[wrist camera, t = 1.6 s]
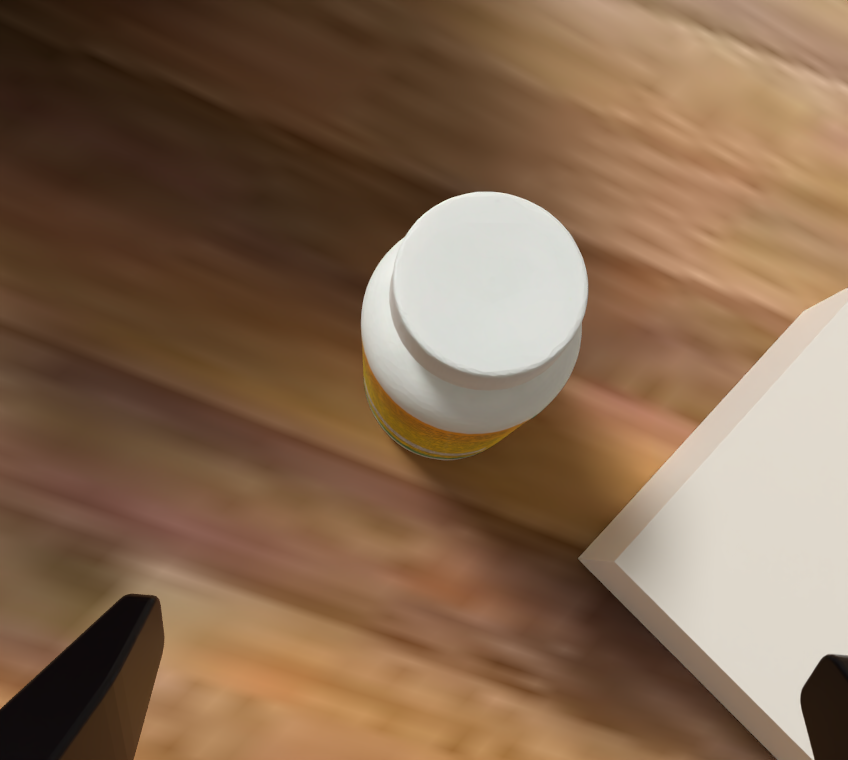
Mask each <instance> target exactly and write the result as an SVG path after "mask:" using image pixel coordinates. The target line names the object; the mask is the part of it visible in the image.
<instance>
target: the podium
mask: <svg viewBox="0 0 848 760" xmlns="http://www.w3.org/2000/svg"><path fill="white" fill-rule="evenodd" d="M578 560H579V561H580V562H581V563H582V564H583V565H584V566H585V567H586V568H587V569H588V570H589V571H590V572H591V573H592V574H593V575H594V576H595V577H596V578H597V579H598V580H599V581H600V582H601V583H602V584H603V585H604V586H605V587H606V588H607V589H608V590H609V591H610V592H611V593H612V594H613V595H614V596H615V597H616V598H617V599H618V600H619V601H620V602H621V603H622V604H623V605H624V606H625V607H626V608H627V609H628V610H629V611H630V612H631V613H632V614H633V615H634V616H635V617H636V618H637V619H638V620H639V621H640V622H641V623H642V624H643V625H644V626H645V627H646V628H647V629H648V630H649V631H650V632H651V633H652V634H653V635H654V636H655V637H656V638H657V639H658V640H659V641H660V642H661V643H662V644H663V645H664V646H665V647H666V648H667V649H668V650H669V651H670V652H671V653H672V654H673V655H674V656H675V657H676V658H677V659H678V660H679V661H680V662H681V663H682V664H683V665H684V666H685V667H686V668H687V669H688V670H689V671H690V672H691V673H692V674H693V675H694V676H695V677H696V678H697V679H698V680H699V681H700V682H701V683H702V684H703V685H704V686H705V687H706V688H707V689H708V690H709V691H710V692H711V693H712V694H713V695H714V697H715V698H716V699H717V700H718V701H719V702H720V703H721V704H722V705H723V706H724V707H725V708H726V709H727V710H728V711H729V712H730V713H731V714H732V715H733V716H734V717H735V718H736V719H737V720H738V721H739V722H740V723H741V724H742V725H743V726H744V727H745V728H746V729H747V730H748V731H749V732H750V733H751V734H752V735H753V736H754V737H755V738H756V739H757V740H758V741H759V742H760V743H761V744H762V745H763V746H764V747H765V748H766V749H767V750H768V751H769V752H770V753H771V754H772V755H773V756H774V757H775V758H776V759H777V760H814V756H813V752H812V748H811V744H810V740H809V737H808V733H807V729H806V725H805V721H804V717H803V714H802V710H801V704H800V695H801V690H802V688H803V686H804V684H805V683H806V681H807V680H808V678H809V677H810V675H811V674H812V672H813V670H814V669H815V667H816V666H817V664H818V663H819V661H820V660H821V659H822V657H824V656H825V655H827V654H838V655H848V288H846V289H844V290H842V291H840V292H838V293H837V294H835V295H833V296H831V297H829V298H827V299H825V300H823V301H822V302H820V303H818V304H816V305H814V306H812V307H810V308H808V309H807V310H805V311H803V312H802V313H801V314H800V315H799V316H798V318H797V319H796V320H795V321H794V322H793V323H792V324H791V325H790V326H789V327H788V329H787V330H786V331H785V332H784V333H783V334H782V335H781V336H780V337H779V338H778V340H777V341H776V342H775V343H774V344H773V345H772V346H771V347H770V348H769V349H768V350H767V352H766V353H765V354H764V355H763V356H762V357H761V358H760V359H759V360H758V361H757V363H756V364H755V365H754V366H753V367H752V368H751V369H750V370H749V371H748V372H747V373H746V375H745V376H744V377H743V378H742V379H741V380H740V381H739V382H738V383H737V384H736V386H735V387H734V388H733V389H732V390H731V391H730V392H729V393H728V394H727V395H726V397H725V398H724V399H723V400H722V401H721V402H720V403H719V404H718V405H717V406H716V407H715V409H714V410H713V411H712V412H711V413H710V414H709V415H708V416H707V417H706V418H705V420H704V421H703V422H702V423H701V424H700V425H699V426H698V427H697V428H696V429H695V431H694V432H693V433H692V434H691V435H690V436H689V437H688V438H687V439H686V440H685V441H684V443H683V444H682V445H681V446H680V447H679V448H678V449H677V450H676V451H675V452H674V454H673V455H672V456H671V457H670V458H669V459H668V460H667V461H666V462H665V463H664V464H663V466H662V467H661V468H660V469H659V470H658V471H657V472H656V473H655V474H654V475H653V477H652V478H651V479H650V480H649V481H648V482H647V483H646V484H645V485H644V486H643V488H642V489H641V490H640V491H639V492H638V493H637V494H636V495H635V496H634V497H633V498H632V500H631V501H630V502H629V503H628V504H627V505H626V506H625V507H624V508H623V509H622V511H621V512H620V513H619V514H618V515H617V516H616V517H615V518H614V519H613V520H612V522H611V523H610V524H609V525H608V526H607V527H606V528H605V529H604V530H603V531H602V532H601V534H600V535H599V536H598V537H597V538H596V539H595V540H594V541H593V542H592V543H591V545H590V546H589V547H588V548H587V549H586V550H585V551H584V552H583V553H582V554H581V555H580V557H579V558H578Z"/></svg>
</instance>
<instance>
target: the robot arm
mask: <svg viewBox="0 0 848 760" xmlns="http://www.w3.org/2000/svg"><path fill="white" fill-rule="evenodd" d="M163 648H164V629H163V621H162V613H161V605H160V601H159V599H158V598H157V597H156V596H153V595H141V594H128V595H125V596H123V597H122V598H121V599H119V600H118V601H117V602H116V603H115V604H114V605H113V606H112V607H111V608H110V609H109V610H107V611H106V612H105V613H104V614H103V615H102V616H101V617H100V618H99V619H98V620H97V621H96V622H94V623H93V624H92V625H91V626H90V627H89V628H88V629H87V630H86V631H85V632H84V633H83V634H81V635H80V636H79V637H78V638H77V639H76V640H75V641H74V642H73V643H72V644H71V645H69V646H68V647H67V648H66V649H65V650H64V651H63V652H62V653H61V654H60V655H59V656H58V657H56V658H55V659H54V660H53V661H52V662H51V663H50V664H49V665H48V666H47V667H46V668H44V669H43V670H42V671H41V672H40V673H39V674H38V675H37V676H36V677H35V678H34V679H33V680H31V681H30V682H29V683H28V684H27V685H26V686H25V687H24V688H23V689H22V690H21V691H19V692H18V693H17V694H16V695H15V696H14V697H13V698H12V699H11V700H10V701H9V702H8V703H6V704H5V705H4V706H3V707H2V708H1V709H0V760H133V759H134V756H135V752H136V749H137V745H138V741H139V738H140V734H141V730H142V727H143V723H144V719H145V716H146V712H147V708H148V705H149V701H150V697H151V694H152V690H153V686H154V683H155V679H156V675H157V672H158V668H159V664H160V661H161V657H162V653H163ZM800 704H801V710H802V714H803V717H804V721H805V725H806V729H807V733H808V737H809V740H810V744H811V748H812V752H813V756H814V760H848V655H838V654H827V655H825V656H824V657H822V659H821V660H820V661H819V663H818V664H817V666H816V667H815V669H814V670H813V672H812V674H811V675H810V677H809V678H808V680H807V681H806V683H805V684H804V686H803V688H802V690H801V695H800Z"/></svg>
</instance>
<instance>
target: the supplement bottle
mask: <svg viewBox="0 0 848 760" xmlns="http://www.w3.org/2000/svg"><path fill="white" fill-rule="evenodd" d="M587 300H588V276H587V272H586V267H585V263H584V260H583V257H582V255H581V253H580V250H579V248H578V246H577V245H576V243H575V241H574V239H573V238H572V236H571V234H570V233H569V232H568V230H567V229H566V228H565V227H564V226H563V225H562V224H561V223H560V221H558V220H557V219H556V218H555V217H554V216H553V215H551V214H550V213H549V212H548V211H546V210H545V209H543V208H541V207H540V206H538V205H536V204H534V203H532V202H530V201H528V200H525V199H523V198H520V197H517V196H514V195H510V194H506V193H500V192H473V193H467V194H463V195H460V196H456V197H452V198H450V199H447V200H445V201H443V202H441V203H439V204H438V205H436V206H434V207H433V208H431V209H430V210H429V211H427V212H426V213H425V214H423V215H422V216H421V217H420V218H419V219H418V220H417V221H416V222H415V223H414V225H413V226H412V227H411V229H410V230H409V231H408V233H407V234H406V236H405V237H404V238H403V239H401V240H400V241H399V242H398V243H397V244H395V245H394V246H393V247H392V248H391V249H390V250H389V251H388V252H387V253H386V255H385V256H384V257H383V258H382V260H381V261H380V263H379V264H378V266H377V267H376V269H375V271H374V272H373V275H372V277H371V279H370V281H369V283H368V286H367V289H366V292H365V295H364V299H363V305H362V312H361V337H362V351H363V374H364V387H365V392H366V397H367V400H368V403H369V406H370V408H371V410H372V412H373V414H374V416H375V418H376V420H377V421H378V423H379V424H380V426H381V427H382V428H383V430H384V431H385V432H386V433H387V434H388V435H389V436H390V437H391V438H392V439H393V440H394V441H395V442H397V443H398V444H399V445H400V446H402V447H404V448H405V449H407V450H409V451H411V452H413V453H415V454H417V455H420V456H423V457H427V458H432V459H438V460H457V459H462V458H467V457H470V456H473V455H476V454H478V453H480V452H483V451H485V450H486V449H488V448H490V447H492V446H493V445H495V444H496V443H498V442H499V441H501V440H502V439H503V438H505V437H506V436H508V435H509V434H510V433H512V432H513V431H514V430H516V429H517V428H519V427H520V426H521V425H522V424H523V423H525V422H527V421H529V420H530V419H532V418H533V417H535V416H536V415H538V414H539V413H540V412H541V411H542V410H543V409H544V408H545V407H546V406H547V405H548V404H549V403H550V402H551V401H552V400H553V399H554V398H555V397H556V396H557V395H558V393H559V392H560V391H561V389H562V388H563V387H564V385H565V384H566V382H567V380H568V379H569V377H570V375H571V373H572V371H573V368H574V366H575V363H576V360H577V358H578V354H579V350H580V343H581V336H582V320H583V317H584V315H585V311H586V306H587Z"/></svg>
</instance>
